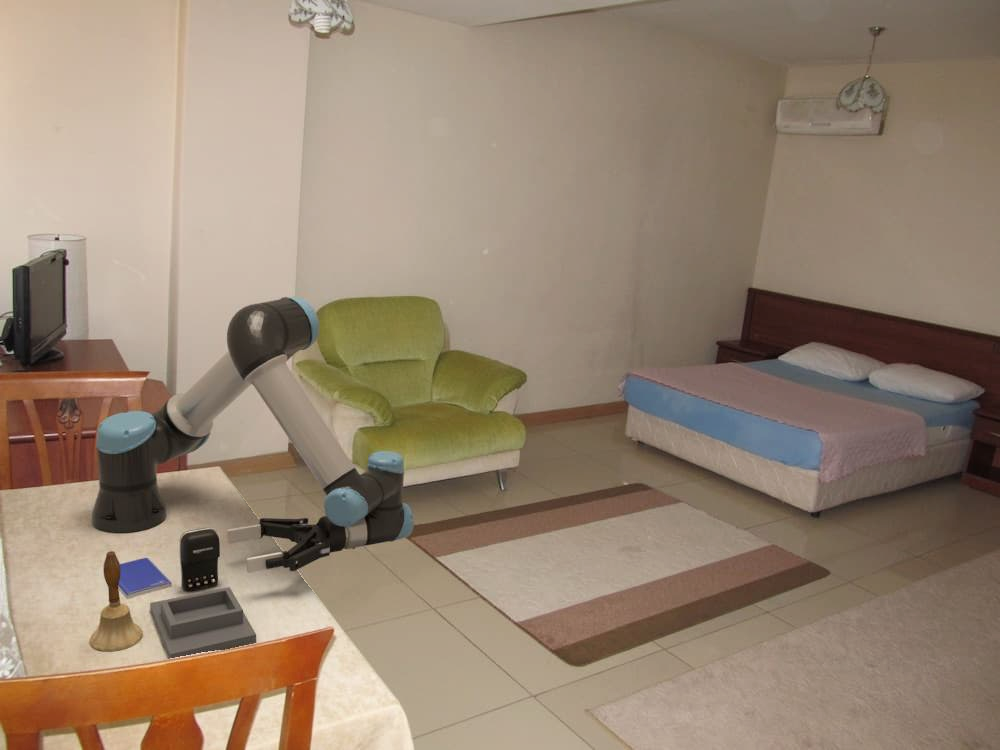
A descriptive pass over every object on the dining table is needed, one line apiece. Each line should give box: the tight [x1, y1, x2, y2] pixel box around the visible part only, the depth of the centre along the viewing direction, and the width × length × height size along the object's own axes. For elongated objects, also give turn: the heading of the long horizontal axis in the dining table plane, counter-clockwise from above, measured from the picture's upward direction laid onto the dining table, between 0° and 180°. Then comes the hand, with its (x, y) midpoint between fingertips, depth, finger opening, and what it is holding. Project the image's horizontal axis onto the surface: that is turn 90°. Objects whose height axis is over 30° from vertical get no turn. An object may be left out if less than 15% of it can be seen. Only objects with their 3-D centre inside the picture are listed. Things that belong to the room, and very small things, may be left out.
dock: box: [149, 586, 257, 659], centre depth 149 cm, size 18×14×4 cm
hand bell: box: [89, 551, 144, 652], centre depth 142 cm, size 8×8×16 cm
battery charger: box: [179, 527, 221, 592], centre depth 161 cm, size 7×4×11 cm, turn 124°
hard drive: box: [118, 557, 172, 599], centre depth 164 cm, size 2×8×12 cm
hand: (236, 550), depth 164 cm, fingers open, 13 cm apart
